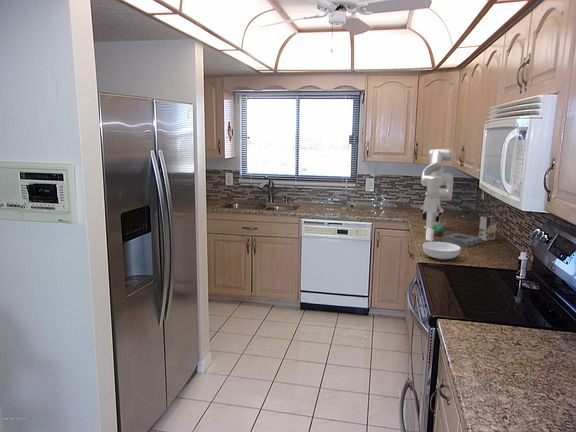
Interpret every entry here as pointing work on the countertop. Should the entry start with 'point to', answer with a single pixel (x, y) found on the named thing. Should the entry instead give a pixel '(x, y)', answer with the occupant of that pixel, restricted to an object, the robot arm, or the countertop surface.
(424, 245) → the serving bowl
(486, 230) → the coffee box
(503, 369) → the countertop surface
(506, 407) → the countertop surface
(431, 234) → the eye dropper bottle
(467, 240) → the holder block
